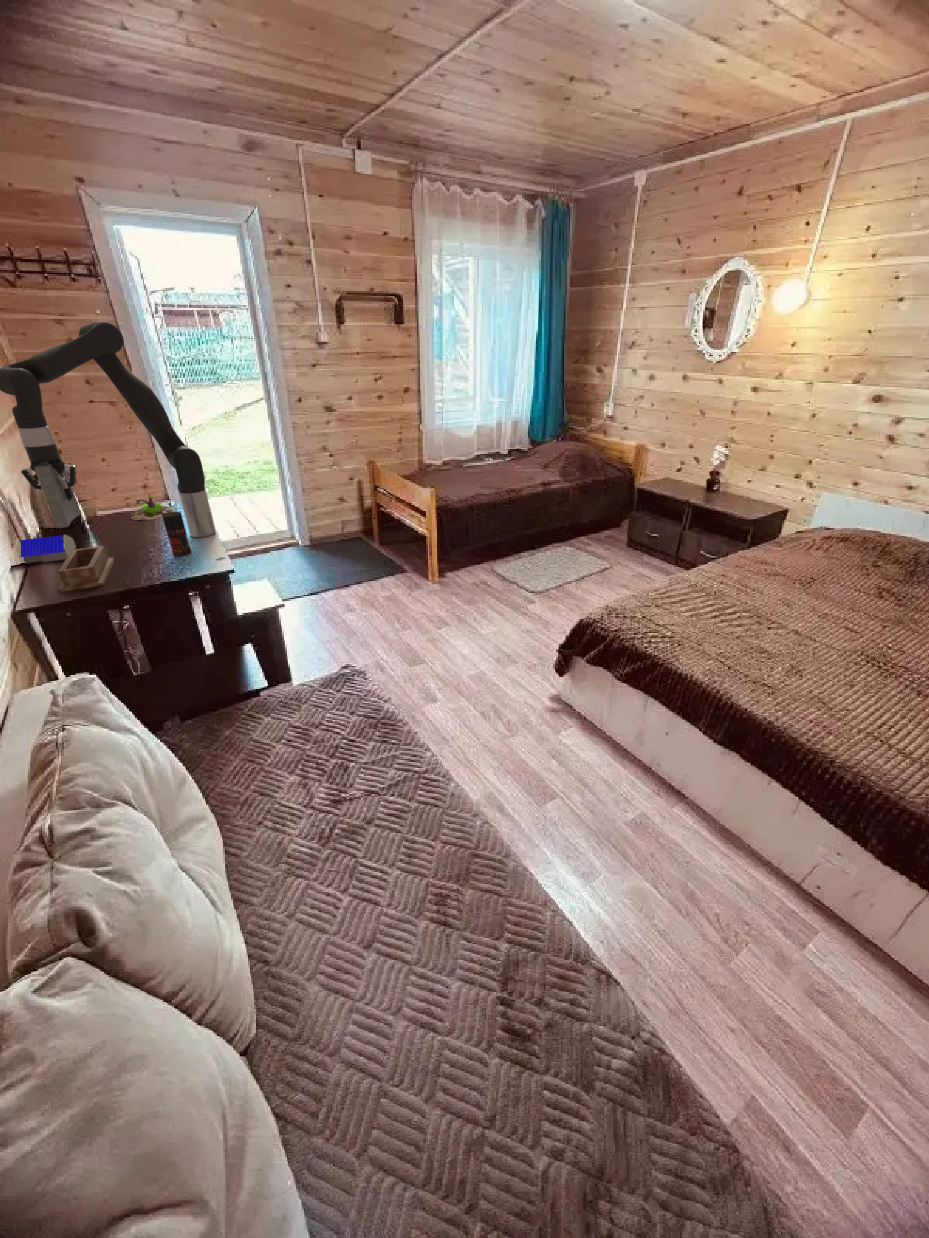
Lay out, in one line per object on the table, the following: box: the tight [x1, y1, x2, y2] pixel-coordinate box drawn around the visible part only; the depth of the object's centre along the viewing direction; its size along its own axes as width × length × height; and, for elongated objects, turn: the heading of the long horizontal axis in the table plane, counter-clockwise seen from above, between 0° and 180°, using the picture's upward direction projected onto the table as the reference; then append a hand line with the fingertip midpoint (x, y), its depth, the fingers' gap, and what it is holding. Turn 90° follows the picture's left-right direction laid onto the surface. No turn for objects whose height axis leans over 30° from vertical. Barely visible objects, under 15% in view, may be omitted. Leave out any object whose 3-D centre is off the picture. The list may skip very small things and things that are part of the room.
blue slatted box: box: [20, 534, 77, 565], centre depth 185 cm, size 22×14×7 cm, turn 113°
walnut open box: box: [57, 545, 115, 593], centre depth 171 cm, size 12×24×6 cm, turn 24°
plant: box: [130, 493, 178, 522], centre depth 227 cm, size 20×20×11 cm
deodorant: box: [162, 511, 192, 558], centre depth 185 cm, size 6×6×15 cm
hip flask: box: [34, 458, 82, 529], centre depth 159 cm, size 16×4×20 cm, turn 19°
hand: (61, 500), depth 161 cm, fingers closed on hip flask, 4 cm apart
